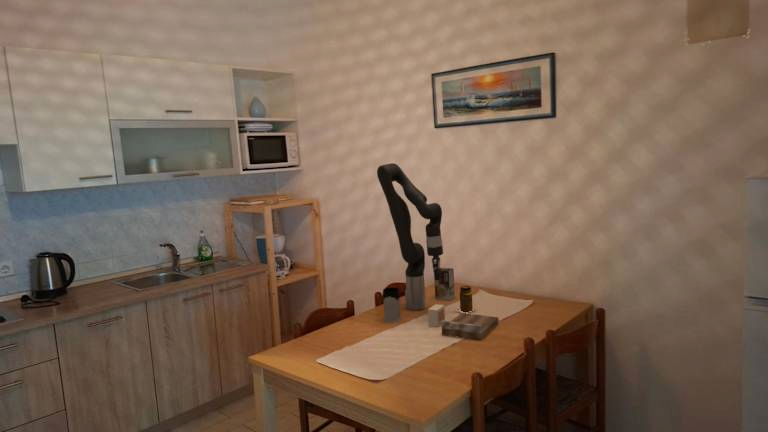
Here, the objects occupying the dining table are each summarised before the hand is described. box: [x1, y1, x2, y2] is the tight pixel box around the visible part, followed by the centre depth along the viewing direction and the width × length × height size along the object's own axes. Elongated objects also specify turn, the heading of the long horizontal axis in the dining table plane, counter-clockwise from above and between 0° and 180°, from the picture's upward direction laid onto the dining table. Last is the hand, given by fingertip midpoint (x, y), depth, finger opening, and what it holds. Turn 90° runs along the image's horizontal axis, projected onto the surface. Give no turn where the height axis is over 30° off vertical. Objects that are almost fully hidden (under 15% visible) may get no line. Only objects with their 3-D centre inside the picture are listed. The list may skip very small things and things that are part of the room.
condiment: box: [457, 285, 474, 313], centre depth 257 cm, size 7×8×12 cm
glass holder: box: [382, 287, 403, 324], centre depth 253 cm, size 9×14×15 cm, turn 166°
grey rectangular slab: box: [440, 312, 499, 341], centre depth 232 cm, size 18×22×6 cm
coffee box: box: [433, 267, 456, 301], centre depth 280 cm, size 9×6×16 cm
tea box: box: [427, 303, 446, 328], centre depth 242 cm, size 5×8×8 cm, turn 149°
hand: (437, 277), depth 253 cm, fingers open, 8 cm apart
